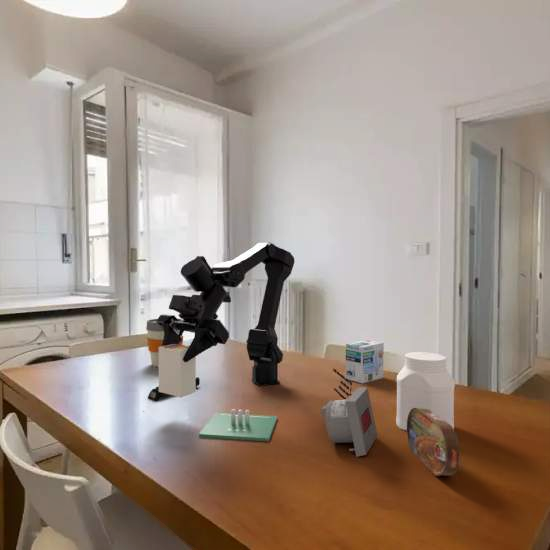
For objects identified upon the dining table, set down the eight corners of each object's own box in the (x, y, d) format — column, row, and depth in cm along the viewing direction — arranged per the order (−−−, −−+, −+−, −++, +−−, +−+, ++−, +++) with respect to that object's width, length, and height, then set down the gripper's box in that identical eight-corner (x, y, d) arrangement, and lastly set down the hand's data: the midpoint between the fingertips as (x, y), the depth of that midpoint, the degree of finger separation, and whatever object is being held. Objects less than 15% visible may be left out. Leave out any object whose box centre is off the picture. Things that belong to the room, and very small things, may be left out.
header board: (215, 415, 94) (215, 399, 94) (277, 418, 92) (277, 402, 92) (198, 436, 82) (198, 418, 82) (268, 441, 80) (269, 422, 80)
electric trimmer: (203, 389, 116) (203, 377, 116) (155, 402, 104) (156, 389, 104) (194, 386, 118) (194, 375, 118) (147, 399, 106) (147, 387, 106)
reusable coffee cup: (167, 358, 151) (167, 317, 151) (191, 363, 144) (191, 320, 144) (138, 364, 141) (138, 320, 141) (162, 370, 134) (162, 324, 134)
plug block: (173, 386, 96) (173, 343, 96) (195, 392, 92) (195, 346, 92) (158, 391, 93) (158, 346, 92) (180, 397, 89) (180, 350, 89)
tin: (405, 444, 79) (405, 400, 79) (420, 444, 79) (421, 400, 79) (443, 486, 64) (444, 432, 64) (463, 486, 64) (463, 432, 64)
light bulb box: (362, 384, 119) (363, 346, 119) (344, 379, 125) (344, 343, 124) (384, 377, 127) (384, 342, 126) (366, 373, 132) (366, 339, 131)
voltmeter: (394, 456, 74) (395, 401, 74) (333, 461, 73) (333, 405, 72) (345, 406, 101) (345, 366, 100) (299, 409, 99) (299, 367, 98)
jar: (460, 427, 88) (461, 356, 88) (443, 441, 81) (444, 364, 80) (408, 413, 96) (408, 349, 95) (388, 425, 88) (389, 355, 88)
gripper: (162, 281, 100) (123, 332, 92) (220, 283, 90) (183, 341, 81) (186, 310, 107) (152, 361, 98) (243, 315, 97) (210, 373, 88)
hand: (172, 359), depth 91 cm, fingers closed on plug block, 7 cm apart
